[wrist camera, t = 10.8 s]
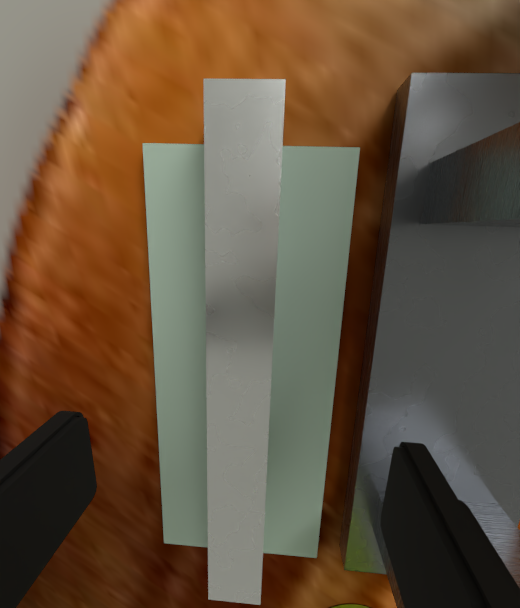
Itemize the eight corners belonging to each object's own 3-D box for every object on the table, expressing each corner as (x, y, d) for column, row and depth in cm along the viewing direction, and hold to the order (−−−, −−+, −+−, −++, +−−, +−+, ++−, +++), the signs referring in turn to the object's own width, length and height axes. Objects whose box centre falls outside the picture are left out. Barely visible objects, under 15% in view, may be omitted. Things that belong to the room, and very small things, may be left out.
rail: (217, 106, 13) (203, 78, 11) (284, 107, 13) (285, 79, 11) (217, 553, 19) (208, 599, 17) (262, 558, 19) (260, 604, 17)
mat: (148, 146, 14) (142, 143, 14) (356, 151, 14) (359, 147, 13) (167, 534, 20) (164, 543, 20) (315, 548, 20) (316, 558, 19)
